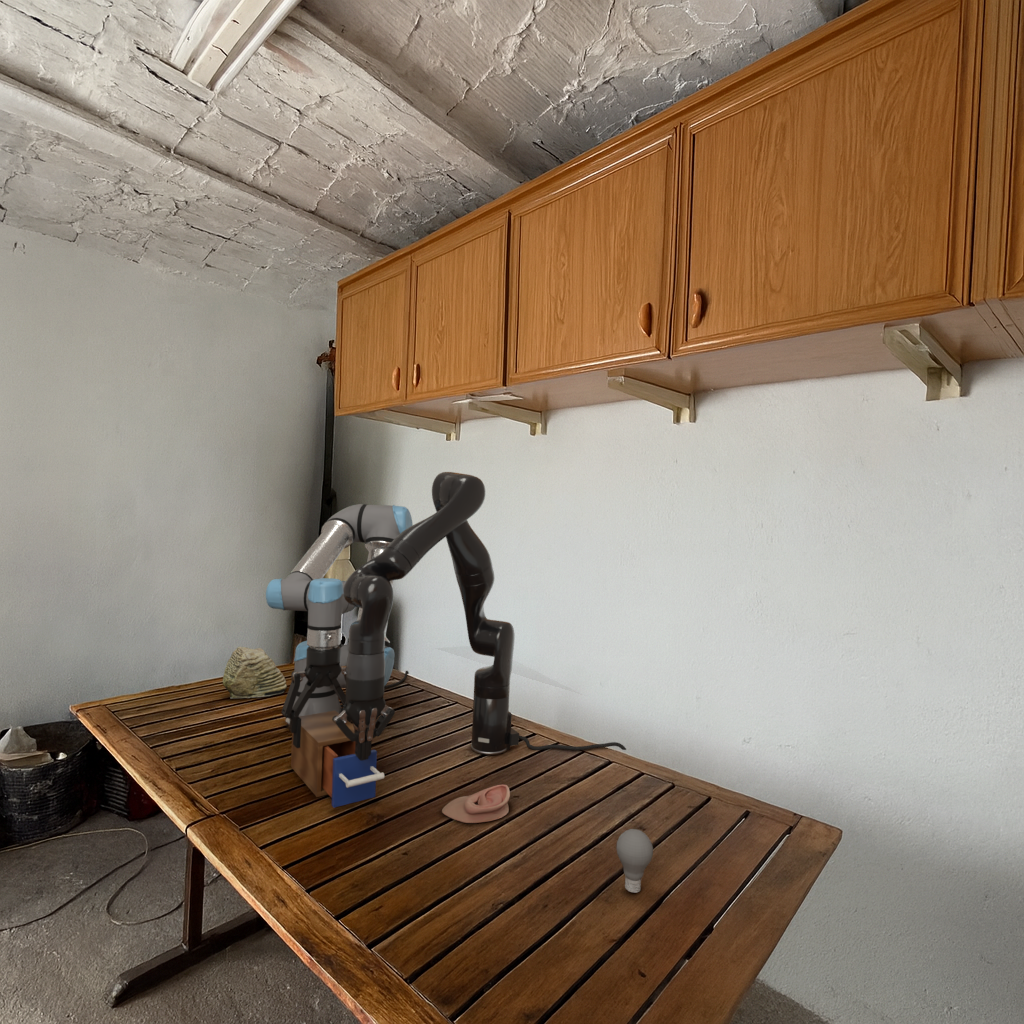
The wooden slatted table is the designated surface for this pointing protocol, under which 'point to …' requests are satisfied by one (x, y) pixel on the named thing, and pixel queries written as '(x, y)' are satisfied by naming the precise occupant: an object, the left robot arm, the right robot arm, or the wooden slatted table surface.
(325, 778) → the drawer
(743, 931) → the wooden slatted table surface
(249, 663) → the fossil
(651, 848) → the light bulb
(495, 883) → the wooden slatted table surface
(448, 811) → the anatomical model
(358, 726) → the right robot arm
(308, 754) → the cabinet
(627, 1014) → the wooden slatted table surface
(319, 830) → the wooden slatted table surface
